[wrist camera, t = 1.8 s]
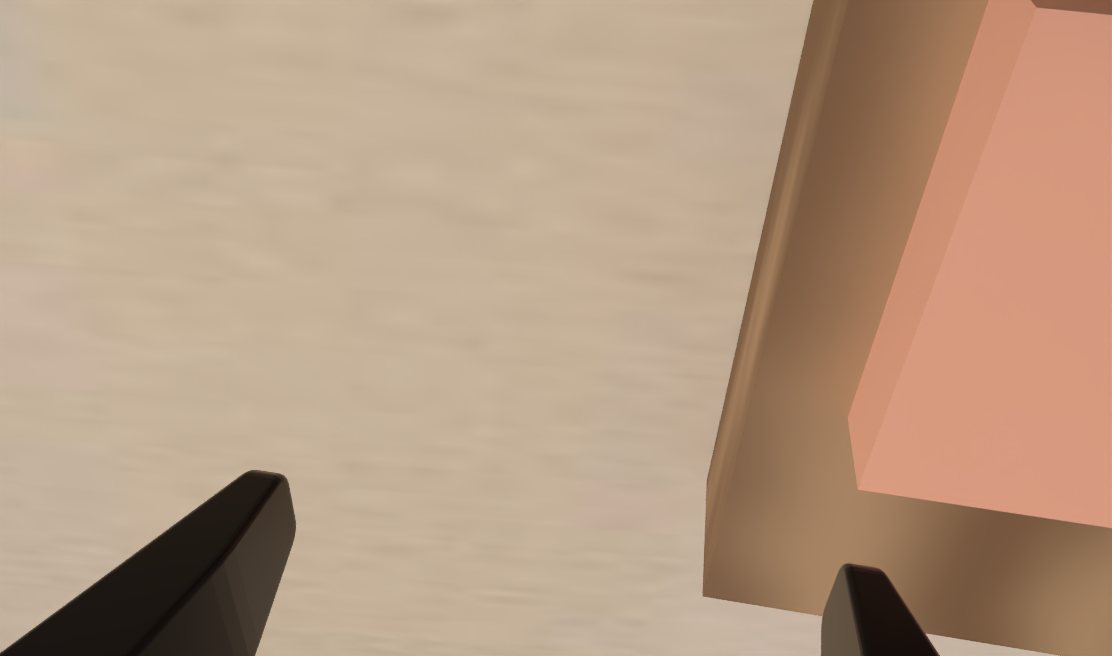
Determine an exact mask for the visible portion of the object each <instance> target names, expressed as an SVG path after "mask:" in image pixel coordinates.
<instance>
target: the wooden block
mask: <svg viewBox="0 0 1112 656" xmlns="http://www.w3.org/2000/svg"><path fill="white" fill-rule="evenodd" d="M988 1H989V0H814V1H813V5H812V10H811V14H810V19H809V23H808V28H807V32H806V37H805V41H804V46H803V50H802V55H801V59H800V64H799V68H798V73H797V77H796V82H795V86H794V91H793V95H792V100H791V104H790V109H789V113H788V118H787V122H786V127H785V131H784V136H783V140H782V145H781V149H780V154H779V158H778V163H777V167H776V172H775V176H774V181H773V185H772V190H771V194H770V199H769V203H768V208H767V212H766V217H765V221H764V226H763V230H762V235H761V239H760V244H759V248H758V253H757V257H756V262H755V266H754V271H753V275H752V280H751V284H750V289H749V293H748V298H747V302H746V307H745V311H744V316H743V320H742V325H741V330H740V334H739V339H738V343H737V348H736V352H735V357H734V361H733V366H732V370H731V375H730V379H729V384H728V388H727V393H726V397H725V402H724V406H723V411H722V415H721V420H720V424H719V429H718V433H717V438H716V442H715V447H714V451H713V456H712V460H711V465H710V469H709V474H708V478H707V491H706V518H705V545H704V573H703V596H704V597H710V598H716V599H722V600H728V601H734V602H740V603H746V604H752V605H758V606H764V607H770V608H776V609H783V610H789V611H795V612H801V613H807V614H813V615H819V616H823V612H824V608H825V605H826V603H827V600H828V597H829V595H830V592H831V589H832V587H833V584H834V582H835V579H836V576H837V574H838V571H839V569H840V568H841V567H842V565H844V564H846V563H852V564H858V565H865V566H871V567H876V568H879V569H881V570H882V571H884V572H885V573H886V575H887V576H888V577H889V579H890V580H891V582H892V584H893V585H894V587H895V588H896V590H897V591H898V593H899V594H900V596H901V597H902V599H903V600H904V602H905V603H906V605H907V606H908V608H909V610H910V611H911V613H912V614H913V616H914V617H915V619H916V620H917V622H918V623H919V625H920V626H921V628H922V629H923V631H924V632H925V633H928V634H934V635H940V636H946V637H952V638H958V639H964V640H970V641H976V642H982V643H988V644H994V645H1000V646H1006V647H1012V648H1018V649H1024V650H1030V651H1036V652H1042V653H1048V654H1054V655H1060V656H1112V528H1107V527H1101V526H1094V525H1088V524H1081V523H1075V522H1068V521H1061V520H1055V519H1048V518H1042V517H1035V516H1028V515H1022V514H1015V513H1009V512H1002V511H996V510H989V509H982V508H976V507H969V506H963V505H956V504H949V503H943V502H936V501H930V500H923V499H916V498H910V497H903V496H897V495H890V494H884V493H877V492H870V491H864V490H858V488H857V481H856V474H855V467H854V460H853V453H852V446H851V439H850V432H849V425H848V416H849V413H850V410H851V407H852V404H853V401H854V398H855V395H856V392H857V389H858V386H859V383H860V380H861V377H862V374H863V371H864V368H865V365H866V362H867V359H868V356H869V353H870V350H871V347H872V344H873V342H874V339H875V336H876V333H877V330H878V327H879V324H880V321H881V318H882V315H883V312H884V309H885V306H886V303H887V300H888V297H889V294H890V291H891V288H892V285H893V282H894V279H895V276H896V273H897V270H898V268H899V265H900V262H901V259H902V256H903V253H904V250H905V247H906V244H907V241H908V238H909V235H910V232H911V229H912V226H913V223H914V220H915V217H916V214H917V211H918V208H919V205H920V202H921V199H922V196H923V194H924V191H925V188H926V185H927V182H928V179H929V176H930V173H931V170H932V167H933V164H934V161H935V158H936V155H937V152H938V149H939V146H940V143H941V140H942V137H943V134H944V131H945V128H946V125H947V122H948V120H949V117H950V114H951V111H952V108H953V105H954V102H955V99H956V96H957V93H958V90H959V87H960V84H961V81H962V78H963V75H964V72H965V69H966V66H967V63H968V60H969V57H970V54H971V51H972V48H973V46H974V43H975V40H976V37H977V34H978V31H979V28H980V25H981V22H982V19H983V16H984V13H985V10H986V7H987V4H988Z"/></svg>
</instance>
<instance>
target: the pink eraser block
mask: <svg viewBox="0 0 1112 656" xmlns="http://www.w3.org/2000/svg"><path fill="white" fill-rule="evenodd" d="M848 425H849V432H850V439H851V446H852V453H853V460H854V467H855V474H856V481H857V488H858V490H864V491H870V492H877V493H884V494H890V495H897V496H903V497H910V498H916V499H923V500H930V501H936V502H943V503H949V504H956V505H963V506H969V507H976V508H982V509H989V510H996V511H1002V512H1009V513H1015V514H1022V515H1028V516H1035V517H1042V518H1048V519H1055V520H1061V521H1068V522H1075V523H1081V524H1088V525H1094V526H1101V527H1107V528H1112V0H989V1H988V4H987V7H986V10H985V13H984V16H983V19H982V22H981V25H980V28H979V31H978V34H977V37H976V40H975V43H974V46H973V48H972V51H971V54H970V57H969V60H968V63H967V66H966V69H965V72H964V75H963V78H962V81H961V84H960V87H959V90H958V93H957V96H956V99H955V102H954V105H953V108H952V111H951V114H950V117H949V120H948V122H947V125H946V128H945V131H944V134H943V137H942V140H941V143H940V146H939V149H938V152H937V155H936V158H935V161H934V164H933V167H932V170H931V173H930V176H929V179H928V182H927V185H926V188H925V191H924V194H923V196H922V199H921V202H920V205H919V208H918V211H917V214H916V217H915V220H914V223H913V226H912V229H911V232H910V235H909V238H908V241H907V244H906V247H905V250H904V253H903V256H902V259H901V262H900V265H899V268H898V270H897V273H896V276H895V279H894V282H893V285H892V288H891V291H890V294H889V297H888V300H887V303H886V306H885V309H884V312H883V315H882V318H881V321H880V324H879V327H878V330H877V333H876V336H875V339H874V342H873V344H872V347H871V350H870V353H869V356H868V359H867V362H866V365H865V368H864V371H863V374H862V377H861V380H860V383H859V386H858V389H857V392H856V395H855V398H854V401H853V404H852V407H851V410H850V413H849V416H848Z"/></svg>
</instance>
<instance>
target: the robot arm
mask: <svg viewBox="0 0 1112 656" xmlns="http://www.w3.org/2000/svg"><path fill="white" fill-rule="evenodd" d="M295 531H296V520H295V514H294V509H293V504H292V498H291V493H290V488H289V483H288V480H287V478H286V477H285V476H284V475H282V474H279V473H273V472H267V471H260V470H251V471H248V472H246V473H244V474H242V475H241V476H240V477H238V478H237V479H236V480H234V481H233V482H231V483H230V484H229V485H227V486H226V487H225V488H223V489H222V490H221V491H219V492H218V493H217V494H215V495H214V496H212V497H211V498H210V499H208V500H207V501H206V502H204V503H203V504H202V505H200V506H199V507H198V508H196V509H195V510H193V511H192V512H191V513H189V514H188V515H187V516H185V517H184V518H183V519H181V520H180V521H179V522H177V523H176V524H174V525H173V526H172V527H170V528H169V529H168V530H166V531H165V532H164V533H162V534H161V535H160V536H158V537H157V538H156V539H154V540H153V541H151V542H150V543H149V544H147V545H146V546H145V547H143V548H142V549H141V550H139V551H138V552H137V553H135V554H134V555H132V556H131V557H130V558H128V559H127V560H126V561H124V562H123V563H122V564H120V565H119V566H118V567H116V568H115V569H113V570H112V571H111V572H109V573H108V574H107V575H105V576H104V577H103V578H101V579H100V580H99V581H97V582H96V583H94V584H93V585H92V586H90V587H89V588H88V589H86V590H85V591H84V592H82V593H81V594H80V595H78V596H77V597H75V598H74V599H73V600H71V601H70V602H69V603H67V604H66V605H65V606H63V607H62V608H61V609H59V610H58V611H57V612H55V613H54V614H52V615H51V616H50V617H48V618H47V619H46V620H44V621H43V622H42V623H40V624H39V625H38V626H36V627H35V628H33V629H32V630H31V631H29V632H28V633H27V634H25V635H24V636H23V637H21V638H20V639H19V640H17V641H16V642H14V643H13V644H12V645H10V646H9V647H8V648H6V649H5V650H4V651H2V652H1V653H0V656H255V654H256V651H257V648H258V646H259V643H260V640H261V637H262V634H263V631H264V628H265V625H266V622H267V619H268V616H269V613H270V610H271V607H272V604H273V601H274V598H275V595H276V592H277V589H278V586H279V583H280V580H281V577H282V574H283V571H284V568H285V566H286V563H287V560H288V557H289V554H290V551H291V548H292V545H293V541H294V537H295ZM821 656H940V655H939V654H938V652H937V651H936V649H935V648H934V646H933V645H932V643H931V642H930V640H929V639H928V637H927V636H926V634H925V632H924V631H923V629H922V628H921V626H920V625H919V623H918V622H917V620H916V619H915V617H914V616H913V614H912V613H911V611H910V610H909V608H908V606H907V605H906V603H905V602H904V600H903V599H902V597H901V596H900V594H899V593H898V591H897V590H896V588H895V587H894V585H893V584H892V582H891V580H890V579H889V577H888V576H887V575H886V573H885V572H884V571H882V570H881V569H879V568H876V567H871V566H865V565H858V564H852V563H846V564H844V565H842V567H841V568H840V569H839V571H838V574H837V576H836V579H835V582H834V584H833V587H832V589H831V592H830V595H829V597H828V600H827V603H826V605H825V608H824V612H823V618H822V628H821Z"/></svg>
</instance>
